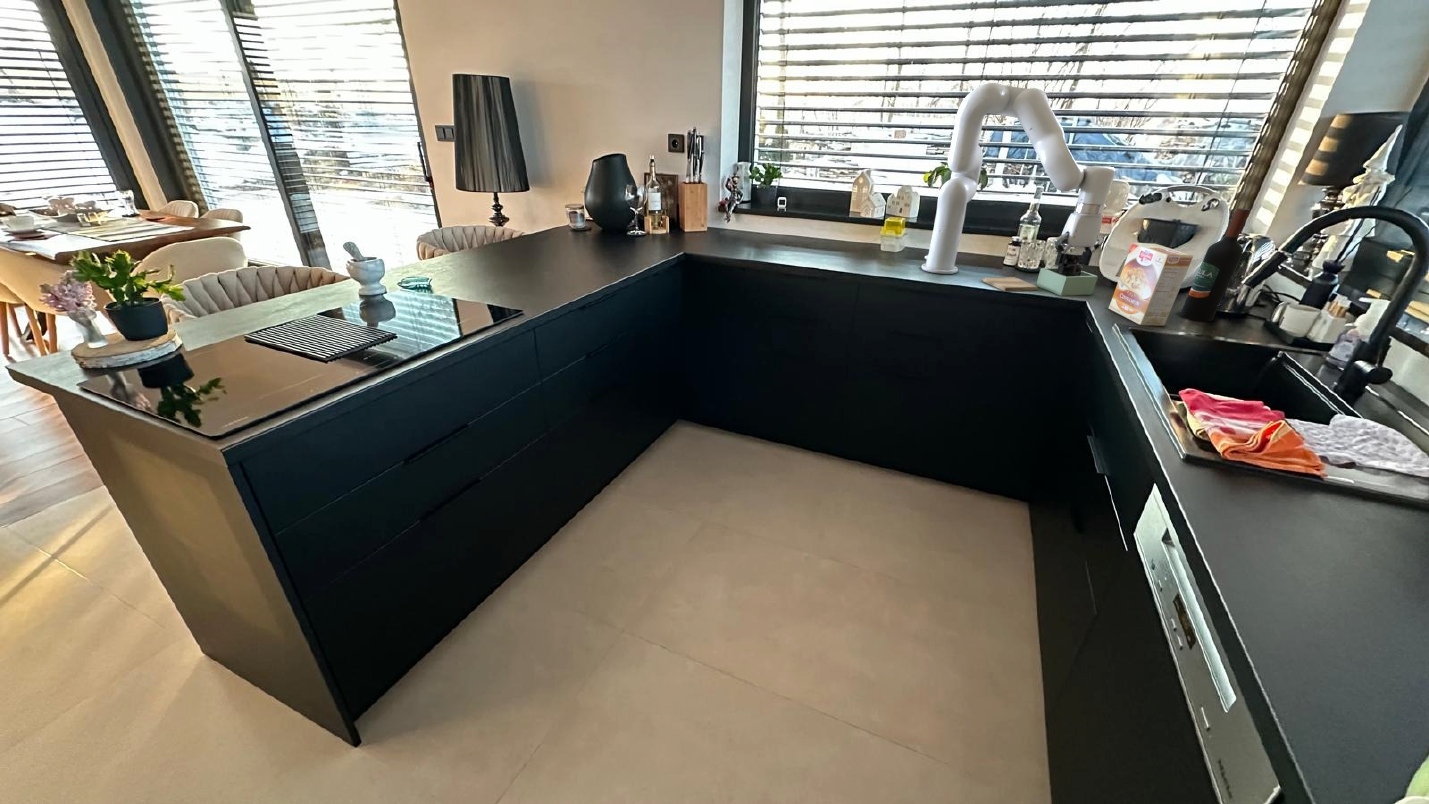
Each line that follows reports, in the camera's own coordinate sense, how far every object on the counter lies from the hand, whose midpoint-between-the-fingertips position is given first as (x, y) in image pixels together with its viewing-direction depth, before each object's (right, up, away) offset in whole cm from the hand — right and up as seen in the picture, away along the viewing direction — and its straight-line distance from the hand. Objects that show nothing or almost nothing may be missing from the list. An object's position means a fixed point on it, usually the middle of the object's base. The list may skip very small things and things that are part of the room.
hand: (1071, 265), depth 180 cm
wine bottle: (+24, -20, -19) cm, 36 cm away
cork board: (-16, -5, +7) cm, 19 cm away
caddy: (0, -7, +4) cm, 8 cm away
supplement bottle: (0, -7, +4) cm, 8 cm away
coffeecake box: (+6, -20, -20) cm, 29 cm away
